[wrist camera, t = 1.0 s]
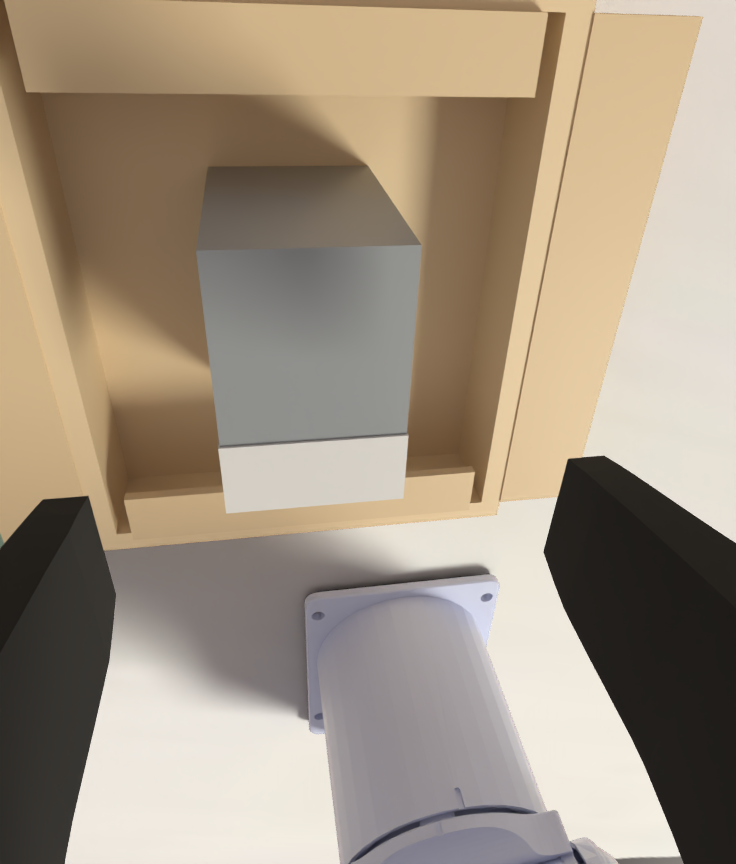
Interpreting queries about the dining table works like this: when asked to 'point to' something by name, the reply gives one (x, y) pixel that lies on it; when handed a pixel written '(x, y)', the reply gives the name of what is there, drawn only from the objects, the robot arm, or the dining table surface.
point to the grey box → (307, 333)
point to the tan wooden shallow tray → (317, 146)
